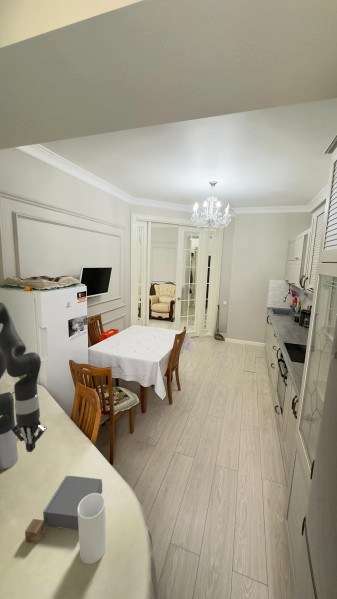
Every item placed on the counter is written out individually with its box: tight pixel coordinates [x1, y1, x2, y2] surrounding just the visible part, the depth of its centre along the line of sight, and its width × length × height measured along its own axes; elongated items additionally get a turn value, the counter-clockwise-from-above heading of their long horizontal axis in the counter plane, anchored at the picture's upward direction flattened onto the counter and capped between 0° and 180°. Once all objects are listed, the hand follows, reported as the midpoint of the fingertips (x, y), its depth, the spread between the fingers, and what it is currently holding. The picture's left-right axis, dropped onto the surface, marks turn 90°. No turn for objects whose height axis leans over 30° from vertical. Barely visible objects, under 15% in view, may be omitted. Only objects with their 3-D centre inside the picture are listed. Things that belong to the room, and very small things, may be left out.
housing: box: [46, 475, 103, 531], centre depth 91 cm, size 14×15×6 cm
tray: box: [42, 475, 69, 526], centre depth 91 cm, size 14×15×5 cm
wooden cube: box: [24, 518, 45, 544], centre depth 81 cm, size 4×4×4 cm
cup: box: [78, 493, 107, 565], centre depth 77 cm, size 8×8×16 cm
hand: (31, 450), depth 91 cm, fingers closed
